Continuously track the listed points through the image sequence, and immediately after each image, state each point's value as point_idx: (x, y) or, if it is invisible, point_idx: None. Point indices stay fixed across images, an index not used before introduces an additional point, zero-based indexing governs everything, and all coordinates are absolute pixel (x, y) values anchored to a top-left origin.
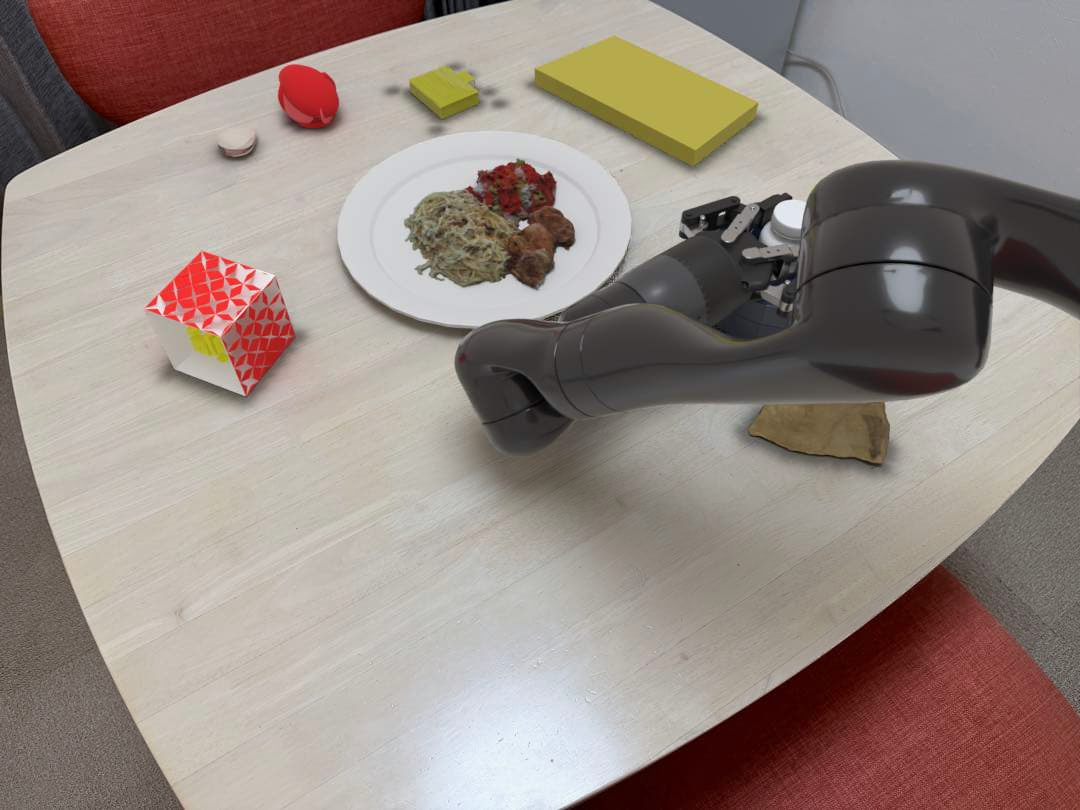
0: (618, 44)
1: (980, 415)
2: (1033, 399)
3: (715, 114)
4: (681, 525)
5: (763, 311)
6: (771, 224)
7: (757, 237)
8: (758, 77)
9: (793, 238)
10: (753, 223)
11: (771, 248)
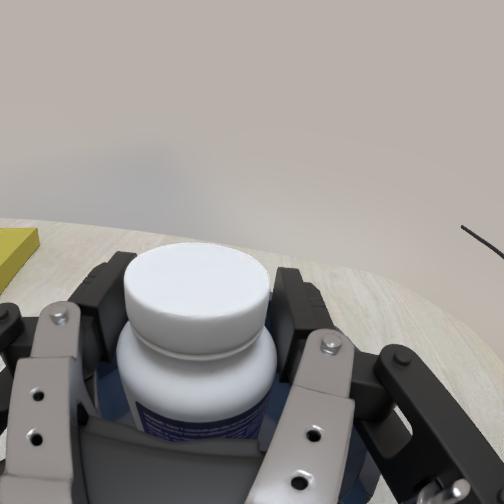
0: None
1: (471, 373)
2: (456, 334)
3: (2, 247)
4: None
5: None
6: (142, 340)
7: (101, 364)
8: (35, 222)
9: (242, 345)
10: (87, 361)
11: (287, 454)
